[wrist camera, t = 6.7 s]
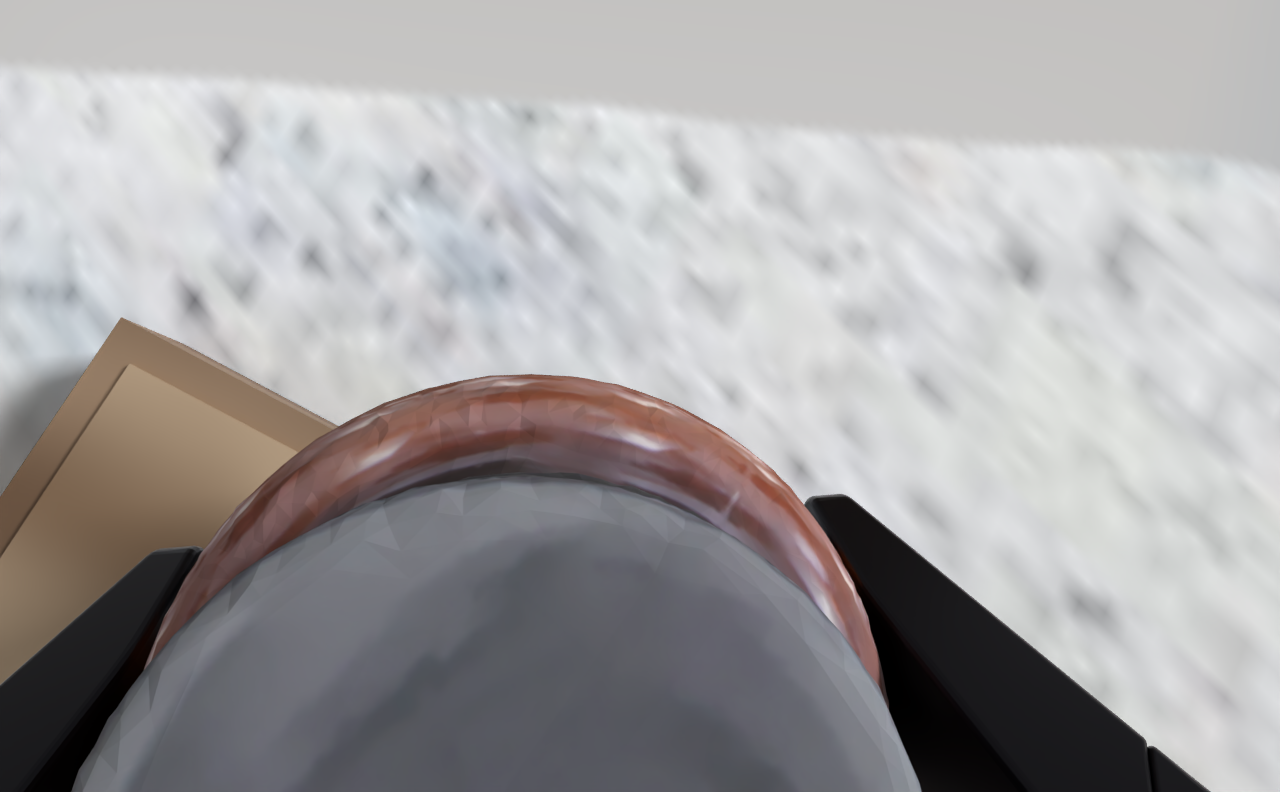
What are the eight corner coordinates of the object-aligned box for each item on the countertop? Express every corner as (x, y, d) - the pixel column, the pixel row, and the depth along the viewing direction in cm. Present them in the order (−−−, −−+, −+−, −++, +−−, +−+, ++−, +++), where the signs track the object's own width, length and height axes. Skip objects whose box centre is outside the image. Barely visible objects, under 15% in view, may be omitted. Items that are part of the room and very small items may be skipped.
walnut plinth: (319, 885, 19) (275, 957, 16) (-49, 697, 19) (-167, 736, 16) (518, 521, 21) (511, 524, 18) (182, 343, 21) (118, 315, 18)
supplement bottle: (308, 675, 14) (-717, 1362, 3) (484, 386, 15) (268, 19, 4) (603, 839, 14) (787, 2140, 3) (757, 541, 15) (1336, 636, 4)
